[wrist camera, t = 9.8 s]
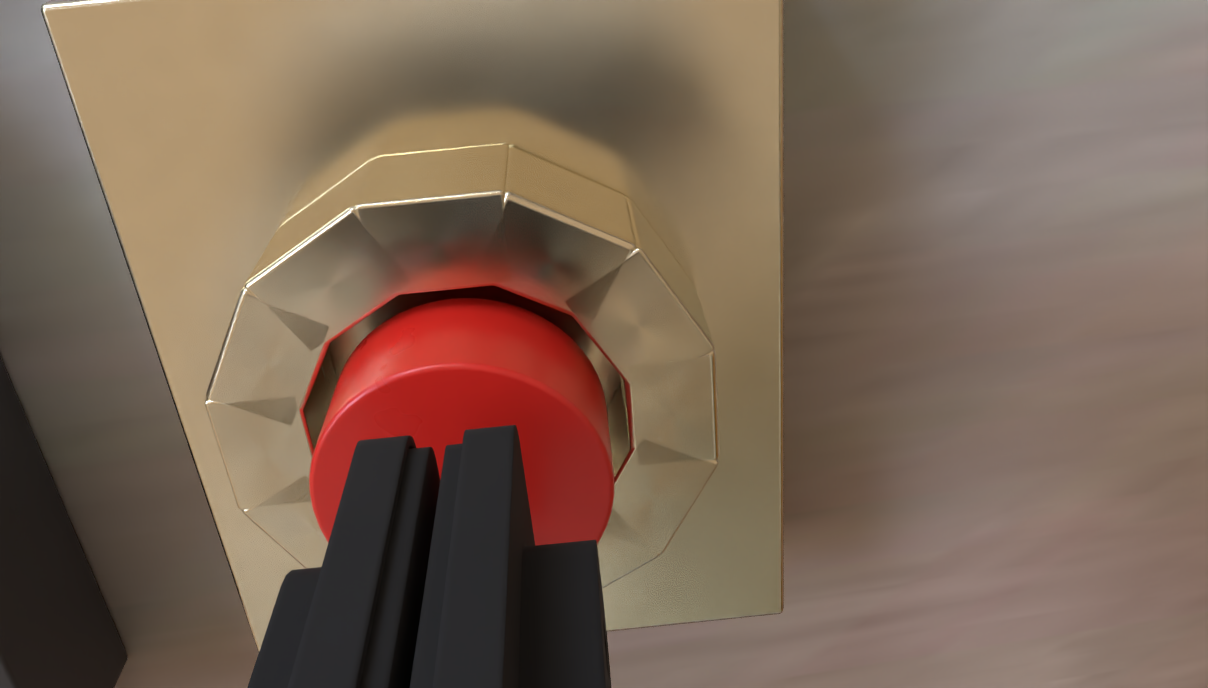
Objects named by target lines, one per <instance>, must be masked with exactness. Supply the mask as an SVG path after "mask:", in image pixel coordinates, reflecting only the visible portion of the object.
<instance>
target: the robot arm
mask: <svg viewBox="0 0 1208 688" xmlns="http://www.w3.org/2000/svg"><path fill="white" fill-rule="evenodd" d="M248 688H611V678H610V666H609V654H608V642H607V631H606V621H605V611H604V601H603V592H602V583H601V574H600V565H599V557H598V548H597V541H596V540H586V541H576V542H566V543H556V544H546V545H536V546H535V540H534V533H533V526H532V520H531V513H530V506H529V500H528V493H527V486H526V480H525V473H524V466H523V460H522V453H521V447H520V440H519V434H518V430H517V427H516V425H508V426H498V427H488V428H478V429H468V430H465V431H464V436H463V443H462V444H453V445H447V446H446V448H445V453H444V459H443V466H442V473H441V480H440V476H439V471H438V466H437V461H436V457H435V453H434V450H433V448H432V447H422V448H416V444H415V442H414V439H413V437H412V436H411V435H407V436H397V437H387V438H377V439H367V440H360V441H358V443H357V445H356V447H355V451H354V454H353V458H352V461H351V465H350V468H349V472H348V475H347V479H346V482H345V486H344V489H343V493H342V496H341V500H340V504H339V507H338V511H337V514H336V518H335V521H334V525H333V528H332V532H331V535H330V539H329V542H328V546H327V549H326V553H325V557H324V560H323V564H322V567H316V568H306V569H296V570H291V571H290V572H289V573H288V574H286V576H285V578H284V580H283V582H282V585H281V587H280V590H279V593H278V596H277V599H276V602H275V605H274V608H273V611H272V615H271V618H270V621H269V624H268V627H267V630H266V633H265V636H264V639H263V642H262V645H261V648H260V651H259V654H258V657H257V660H256V663H255V667H254V670H253V673H252V676H251V679H250V682H249V685H248Z"/></svg>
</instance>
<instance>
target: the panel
mask: <svg viewBox="0 0 1208 688" xmlns="http://www.w3.org/2000/svg"><path fill="white" fill-rule="evenodd" d="M126 661H127V654H126V651H125V649H124V647H123V644H122V642H121V640H120V637H119V635H118V633H117V630H116V628H115V626H114V623H113V621H112V619H111V616H110V614H109V611H108V609H107V607H106V604H105V602H104V600H103V597H102V595H101V593H100V590H99V588H98V586H97V583H96V581H95V579H94V576H93V574H92V571H91V569H90V567H89V564H88V562H87V560H86V557H85V555H84V553H83V550H82V548H81V546H80V543H79V541H78V539H77V536H76V534H75V531H74V529H73V527H72V524H71V522H70V520H69V517H68V515H67V513H66V510H65V508H64V506H63V503H62V501H61V499H60V496H59V494H58V491H57V489H56V487H55V484H54V482H53V480H52V477H51V475H50V473H49V470H48V468H47V466H46V463H45V461H44V459H43V456H42V454H41V451H40V449H39V447H38V444H37V442H36V440H35V437H34V435H33V433H32V430H31V428H30V426H29V423H28V421H27V419H26V416H25V414H24V411H23V409H22V407H21V404H20V402H19V400H18V397H17V395H16V393H15V390H14V388H13V386H12V383H11V381H10V378H9V376H8V374H7V371H6V369H5V367H4V364H3V362H2V360H1V357H0V688H114V686H115V684H116V682H117V680H118V678H119V676H120V674H121V672H122V669H123V667H124V665H125V663H126Z"/></svg>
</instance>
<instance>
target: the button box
mask: <svg viewBox="0 0 1208 688" xmlns="http://www.w3.org/2000/svg"><path fill="white" fill-rule="evenodd" d="M41 12H42V15H43V18H44V21H45V24H46V27H47V30H48V33H49V36H50V39H51V42H52V45H53V48H54V51H55V53H56V56H57V59H58V62H59V65H60V68H61V71H62V74H63V77H64V80H65V83H66V86H67V89H68V92H69V95H70V98H71V101H72V104H73V107H74V110H75V112H76V115H77V118H78V121H79V124H80V127H81V130H82V133H83V136H84V139H85V142H86V145H87V148H88V151H89V154H90V157H91V160H92V163H93V166H94V169H95V171H96V174H97V177H98V180H99V183H100V186H101V189H102V192H103V195H104V198H105V201H106V204H107V207H108V210H109V213H110V216H111V219H112V222H113V225H114V228H115V230H116V233H117V236H118V239H119V242H120V245H121V248H122V251H123V254H124V257H125V260H126V263H127V266H128V269H129V272H130V275H131V278H132V281H133V284H134V286H135V289H136V292H137V295H138V298H139V301H140V304H141V307H142V310H143V313H144V316H145V319H146V322H147V325H148V328H149V331H150V334H151V337H152V340H153V343H154V345H155V348H156V351H157V354H158V357H159V360H160V363H161V366H162V369H163V372H164V375H165V378H166V381H167V384H168V387H169V390H170V393H171V396H172V399H173V402H174V404H175V407H176V410H177V413H178V416H179V419H180V422H181V425H182V428H183V431H184V434H185V437H186V440H187V443H188V446H189V449H190V452H191V455H192V458H193V461H194V463H195V466H196V469H197V472H198V475H199V478H200V481H201V484H202V487H203V490H204V493H205V496H206V499H207V502H208V505H209V508H210V511H211V514H212V517H213V519H214V522H215V525H216V528H217V531H218V534H219V537H220V540H221V543H222V546H223V549H224V552H225V555H226V558H227V561H228V564H229V567H230V570H231V573H232V576H233V578H234V581H235V584H236V587H237V590H238V593H239V596H240V599H241V602H242V605H243V608H244V611H245V614H246V617H247V620H248V623H249V626H250V629H251V632H252V635H253V637H254V640H255V643H256V646H257V649H258V652H259V651H260V648H261V645H262V642H263V639H264V636H265V633H266V630H267V627H268V624H269V621H270V618H271V615H272V611H273V608H274V605H275V602H276V599H277V596H278V593H279V590H280V587H281V585H282V582H283V580H284V578H285V576H286V574H288V573H289V572H290V571H291V570H296V569H306V568H316V567H322V564H323V560H324V557H325V553H326V549H327V546H328V542H327V540H326V538H325V536H324V534H323V532H322V531H321V529H320V527H319V525H318V522H317V519H316V516H315V514H314V511H313V508H312V502H311V497H310V490H309V473H310V466H311V459H312V456H313V453H314V450H315V446H316V443H317V440H318V438H319V435H320V432H321V429H322V426H323V423H324V420H325V417H326V414H327V411H328V408H329V405H330V403H331V400H332V397H333V394H334V391H335V388H336V385H337V382H338V379H339V376H340V374H341V372H342V370H343V368H344V365H345V363H346V361H347V359H348V358H349V357H350V355H351V354H352V352H353V351H354V350H355V348H356V347H357V346H358V344H359V343H360V342H361V341H362V340H363V339H364V338H365V337H366V336H367V335H368V334H369V333H370V332H372V331H373V330H374V329H375V328H377V327H378V326H379V325H380V324H382V323H383V322H385V321H387V320H388V319H390V318H392V317H393V316H395V315H397V314H399V313H401V312H404V311H406V310H408V309H411V308H413V307H416V306H419V305H423V304H426V303H430V302H434V301H440V300H446V299H457V298H476V299H489V300H494V301H499V302H504V303H508V304H511V305H514V306H518V307H521V308H524V309H526V310H528V311H530V312H533V313H535V314H537V315H539V316H541V317H543V318H544V319H546V320H548V321H549V322H551V323H552V324H554V325H556V326H557V327H558V328H560V329H561V330H562V331H563V332H565V333H566V334H567V335H568V336H570V337H571V338H572V339H573V340H574V342H575V343H576V344H577V345H578V346H579V347H580V348H581V349H582V350H583V352H584V353H585V354H586V356H587V357H588V359H589V360H590V361H591V363H592V365H593V367H594V369H595V370H596V372H597V374H598V376H599V379H600V382H601V385H602V388H603V391H604V395H605V401H606V406H607V416H608V425H609V434H610V444H611V453H612V462H613V472H614V500H613V507H612V512H611V515H610V518H609V521H608V525H607V527H606V529H605V531H604V533H603V535H602V537H601V539H600V541H599V542H598V544H597V548H598V557H599V565H600V574H601V583H602V592H603V601H604V611H605V621H606V631H615V630H625V629H635V628H645V627H654V626H664V625H674V624H684V623H693V622H703V621H713V620H723V619H732V618H742V617H752V616H762V615H772V614H780V613H782V611H783V608H784V0H51V1H49V2H46V3H45V4H43V5H42V6H41Z"/></svg>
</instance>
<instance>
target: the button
mask: <svg viewBox="0 0 1208 688" xmlns="http://www.w3.org/2000/svg"><path fill="white" fill-rule="evenodd" d="M508 425H516V427H517V430H518V434H519V440H520V447H521V453H522V460H523V466H524V473H525V480H526V486H527V493H528V500H529V506H530V513H531V520H532V526H533V533H534V540H535V546H536V545H546V544H556V543H566V542H576V541H586V540H596V541H597V544H598V542H599V541H600V539H601V537H602V535H603V533H604V531H605V529H606V527H607V525H608V521H609V518H610V515H611V512H612V507H613V500H614V472H613V462H612V453H611V444H610V434H609V425H608V416H607V406H606V401H605V395H604V391H603V388H602V385H601V382H600V379H599V376H598V374H597V372H596V370H595V369H594V367H593V365H592V363H591V361H590V360H589V359H588V357H587V356H586V354H585V353H584V352H583V350H582V349H581V348H580V347H579V346H578V345H577V344H576V343H575V342H574V340H573V339H572V338H571V337H570V336H568V335H567V334H566V333H565V332H563V331H562V330H561V329H560V328H558V327H557V326H556V325H554V324H552V323H551V322H549V321H548V320H546V319H544V318H543V317H541V316H539V315H537V314H535V313H533V312H530V311H528V310H526V309H524V308H521V307H518V306H514V305H511V304H508V303H504V302H499V301H494V300H489V299H476V298H457V299H446V300H440V301H434V302H430V303H426V304H423V305H419V306H416V307H413V308H411V309H408V310H406V311H404V312H401V313H399V314H397V315H395V316H393V317H392V318H390V319H388V320H387V321H385V322H383V323H382V324H380V325H379V326H378V327H377V328H375V329H374V330H373V331H372V332H370V333H369V334H368V335H367V336H366V337H365V338H364V339H363V340H362V341H361V342H360V343H359V344H358V346H357V347H356V348H355V350H354V351H353V352H352V354H351V355H350V357H349V358H348V359H347V361H346V363H345V365H344V368H343V370H342V372H341V374H340V376H339V379H338V382H337V385H336V388H335V391H334V394H333V397H332V400H331V403H330V405H329V408H328V411H327V414H326V417H325V420H324V423H323V426H322V429H321V432H320V435H319V438H318V440H317V443H316V446H315V450H314V453H313V456H312V459H311V466H310V473H309V490H310V497H311V502H312V508H313V511H314V514H315V516H316V519H317V522H318V525H319V527H320V529H321V531H322V532H323V534H324V536H325V538H326V540H327V542H329V539H330V535H331V532H332V528H333V525H334V521H335V518H336V514H337V511H338V507H339V504H340V500H341V496H342V493H343V489H344V486H345V482H346V479H347V475H348V472H349V468H350V465H351V461H352V458H353V454H354V451H355V447H356V445H357V443H358V441H360V440H367V439H377V438H387V437H397V436H407V435H411V436H412V437H413V439H414V442H415V444H416V448H422V447H432V448H433V450H434V453H435V457H436V461H437V466H438V471H439V476H440V480H441V473H442V466H443V459H444V453H445V448H446V446H447V445H453V444H462V443H463V436H464V431H465V430H468V429H478V428H488V427H498V426H508Z"/></svg>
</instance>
